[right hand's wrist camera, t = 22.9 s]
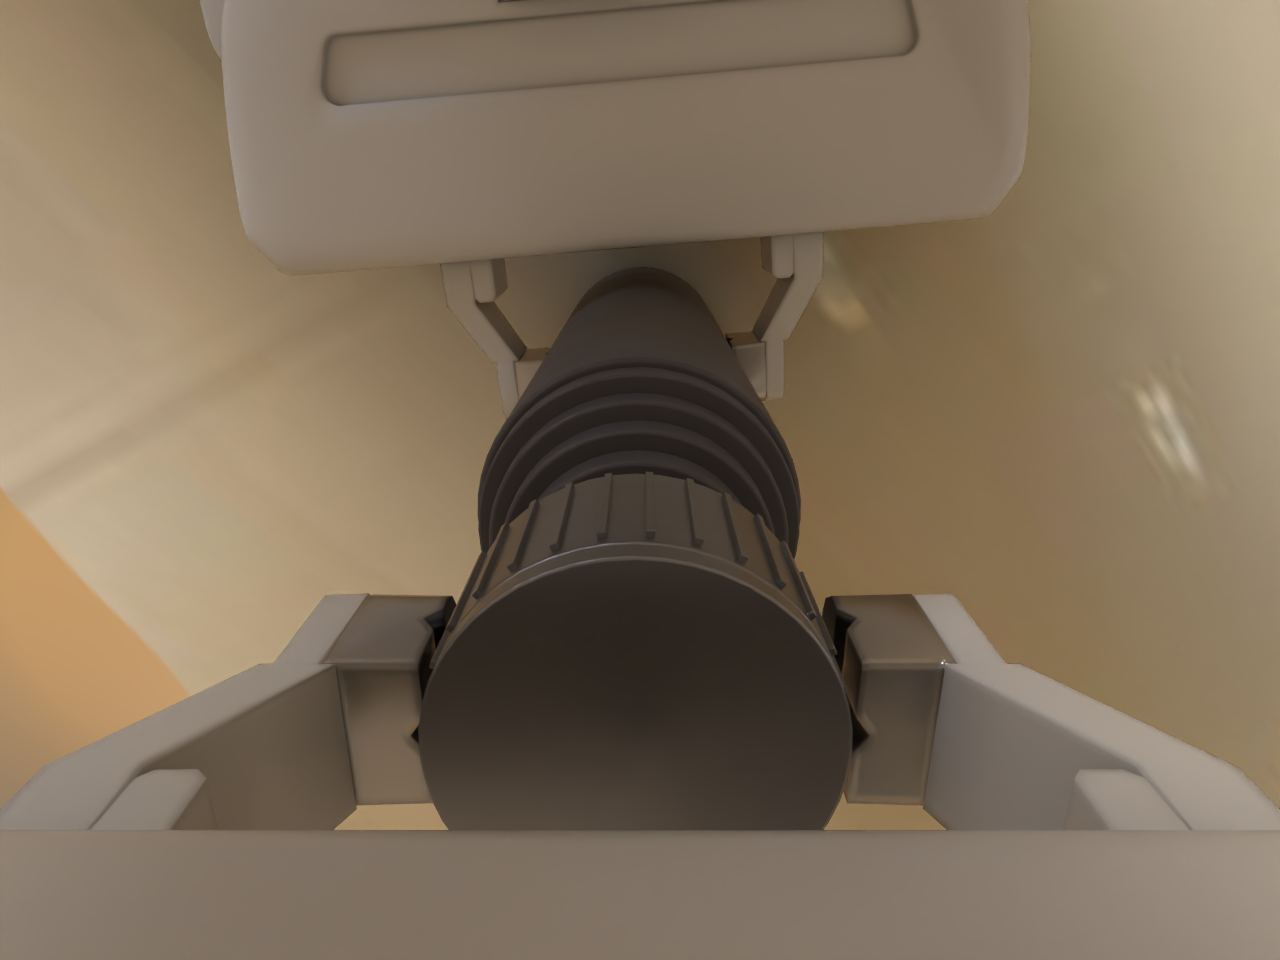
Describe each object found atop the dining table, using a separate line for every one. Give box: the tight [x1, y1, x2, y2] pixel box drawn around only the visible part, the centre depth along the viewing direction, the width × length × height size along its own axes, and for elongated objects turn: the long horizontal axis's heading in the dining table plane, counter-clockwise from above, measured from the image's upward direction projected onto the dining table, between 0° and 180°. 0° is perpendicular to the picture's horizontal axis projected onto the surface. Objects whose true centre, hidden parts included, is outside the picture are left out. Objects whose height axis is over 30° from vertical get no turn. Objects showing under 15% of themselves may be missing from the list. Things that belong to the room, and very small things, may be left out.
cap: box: [418, 472, 852, 830], centre depth 9 cm, size 4×4×2 cm
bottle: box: [478, 268, 801, 559], centre depth 19 cm, size 5×5×22 cm
